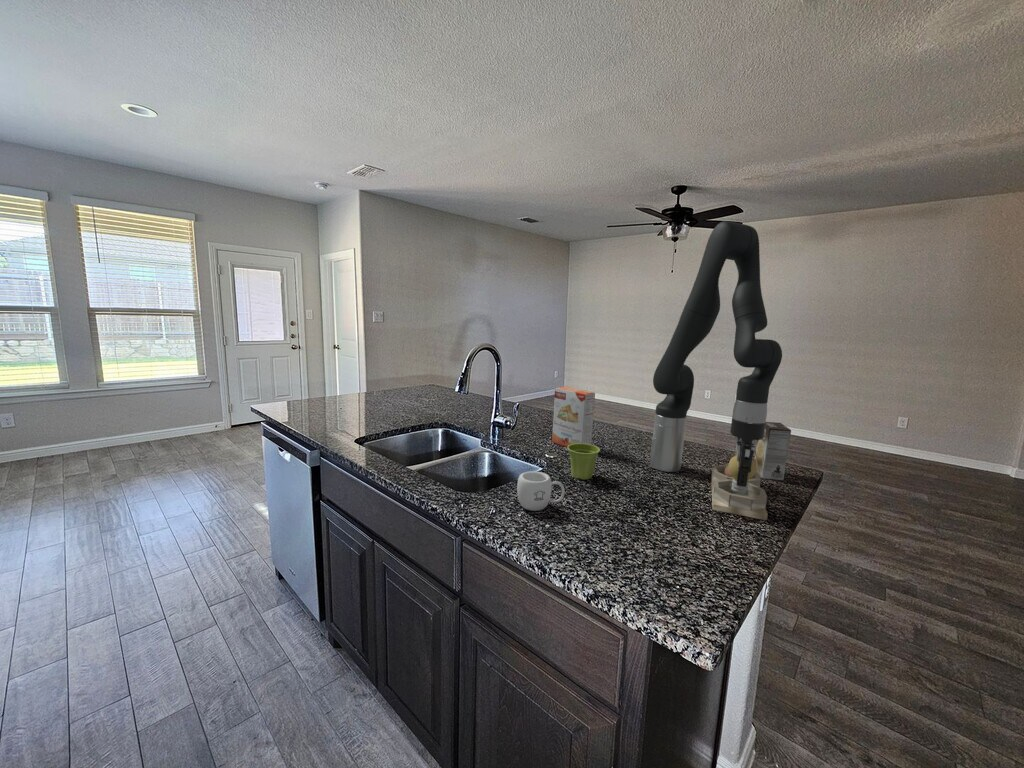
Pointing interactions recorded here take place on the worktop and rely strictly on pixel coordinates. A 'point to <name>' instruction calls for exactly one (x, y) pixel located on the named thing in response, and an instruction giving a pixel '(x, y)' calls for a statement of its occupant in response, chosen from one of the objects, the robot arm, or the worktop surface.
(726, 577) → the worktop surface
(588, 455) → the plant pot
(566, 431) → the cracker box
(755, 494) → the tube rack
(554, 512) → the worktop surface
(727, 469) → the terracotta ball
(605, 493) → the worktop surface
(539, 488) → the mug
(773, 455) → the coffee box
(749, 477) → the light bulb
